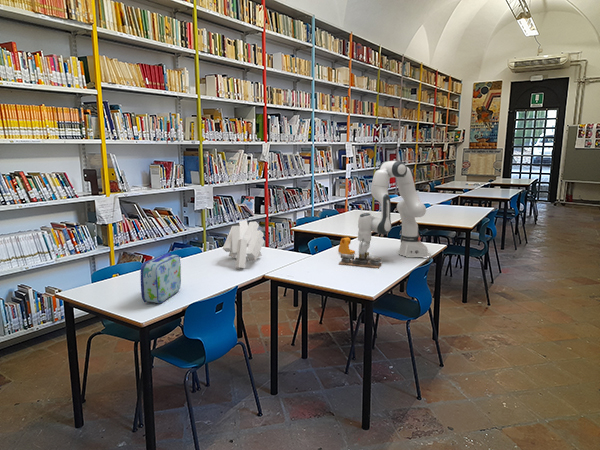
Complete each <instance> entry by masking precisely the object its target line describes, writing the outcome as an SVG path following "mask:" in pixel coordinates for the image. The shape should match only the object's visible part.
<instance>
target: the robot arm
mask: <svg viewBox="0 0 600 450" xmlns="http://www.w3.org/2000/svg"><path fill="white" fill-rule="evenodd" d="M391 178H395V179H396V183H397V188H398V194H399V195H400V197H401V198H402V199H401V200H399V201H398V202H397V204H396V210H397V212H398V213H399V216H400V220H401V235H400V246H399V251H398V253H399V254H400V255H399V254H398V255H399V256H401V255H403V256H402V257H404V256H406V257H405V258H408V257H427V256H429V257H430V256H431V257H432V254H431V253H429V251H428V247H427V246H426V245H425V244H424V243H423V242H422V241H421V239H422V238H421V236H419V235H418V233H419V225H418V222H417V220H416V218H422V217H424V216H425V214H426V212H427V207H426V205H425V204H424V203H423V202H422V200H421V199H420V197H419V195H418V193H417V190H416V185H415V182H414V177H413V174H412V171H411V169H410V168H409V167H408V166H407V165H406V164H405V163H404V162H403V161H400V160H389V161H388V160H387V161H383V162H381V163H380V165H378V169H377V170H375V172H374V173H373V178H372V182H371V188H370V194H371V196H372V197H373V198H374V199H375V200H376V201H378V202H379V204H380V206H381V216H380V217H381V218H380V217H375V216H374V215H372V214H371V213H369V212H366V213H364V212H363V213H361V214H359V216H358V221H357V222H358V224H357V228H358V231H357V241H359V244H358V255H359V254H361V255H362V258H365V252H368V250H369V249H370V246H371V241H372V232H374V233H379V234H381V235H386V234H388V233H389V232H390V231H391V230H392V221H391V209H392V207H391V196H390V195H389V182H390V179H391ZM431 257H430V258H431Z"/></svg>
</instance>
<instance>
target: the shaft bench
mask: <svg viewBox="0 0 600 450" xmlns="http://www.w3.org/2000/svg"><path fill="white" fill-rule="evenodd" d="M340 259H341V260H340V262H339V263H338V265H339V266H347V267H356V268H357V267H359V268H369V269H376V268H378V269H380V267H381V266H382V264H383V262H381V259H382V258H381V257H380V256H371V255H370V254H369V255H367V259H364V258H359V257H355V254H340ZM378 269H377V270H378Z"/></svg>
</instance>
